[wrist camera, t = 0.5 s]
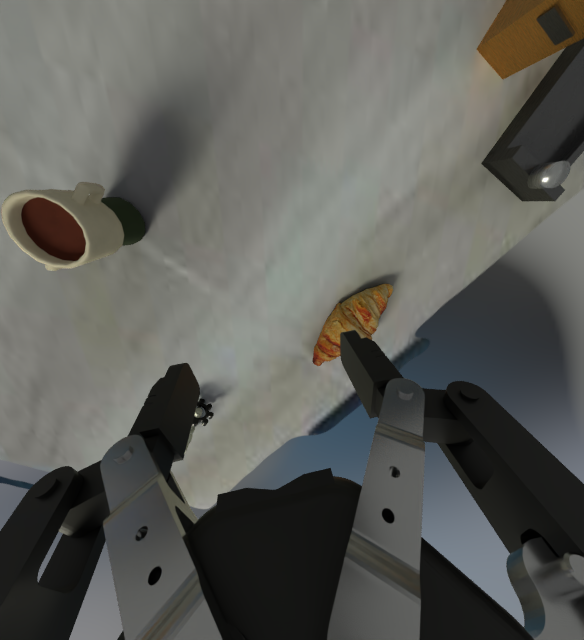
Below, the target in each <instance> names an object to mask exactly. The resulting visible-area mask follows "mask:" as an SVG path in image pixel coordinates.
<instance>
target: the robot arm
mask: <svg viewBox="0 0 584 640" xmlns="http://www.w3.org/2000/svg"><path fill="white" fill-rule="evenodd" d="M340 355H341V361H342V364H343V366H344V368H345V370H346V372H347V374H348V376H349V378H350V380H351V382H352V384H353V386H354V388H355V390H356V392H357V394H358V396H359V398H360V400H361V402H362V404H363V406H364V407H365V409H366V411H367V413H368V415H369V417H370V418H374V417H378V418H379V420H378V424H377V426H376V429H375V433H374V437H373V442H372V446H371V450H370V455H369V459H368V463H367V467H366V472H365V476H364V480H363V485H362V486H361V485H359V484H357V483H355V482H353V481H351V480H348V479H346V478H342V477H335V476H333V475H332V471H331V468H328V469H324V470H320V471H315V472H311V473H307V474H303V475H302V476H300V477H298V478H296V479H295V480H293V481H291V482H290V483H287V484H286V485H284V486H282V487H281V488H279V489H276V490H267V489H253V488H244V489H240V490H236V491H231V492H227V493H223V494H219V495H218V498H217V505H216V506H214V507H213V508H211V509H210V510H209V511H207V512H206V513H205V514H204V515H203V516H202V517H201V518H200V519H199V520H198V519H197V517H196V516H195V514H194V513H193V511H192V510H191V508H190V506H189V505H188V503H187V501H186V499H185V497H184V495H183V493H182V491H181V489H180V487H179V485H178V483H177V481H176V479H175V477H174V475H173V473H172V472H171V466H172V463H173V462H175V461H180V460H183V458H184V454H185V450H186V446H187V442H188V439H189V435H190V431H191V427H192V423H193V419H194V415H195V411H196V407H197V403H198V399H199V395H200V388H199V384H198V382H197V380H196V378H195V376H194V374H193V372H192V370H191V368H190V366H189V364H188V363H182V364H177V365H172V366H170V367H169V368H168V371H167V373H166V375H165V377H164V378H160V379H159V380H158V381H157V383H156V384H155V385H154V386H153V387H152V389H151V391H150V393H149V395H148V398H147V399H146V401H145V403H144V406H143V407H142V409H141V411H140V413H139V415H138V417H137V419H136V421H135V423H134V425H133V427H132V429H131V431H130V433H129V435H128V436H127V437H125V438H123V439H121V440H119V441H118V442H117V443H115V444H114V445H113V446H112V447H111V448H110V449H109V450H108V451H107V452H106V454H105V455H104V457H103V459H102V460H101V461H99V462H97V463H95V464H92V465H90V466H88V467H86V468H84V469H82V470H80V471H78V472H77V471H76V470H74V469H73V468H72V467H69V466H65V467H60V468H58V469H55V470H53V471H52V472H50V473H48V474H47V475H45V476H44V477H43V478H41V479H40V480H39V481H38V482H37V483H35V484H34V485H33V486H32V487H31V489H30V490H29V491H28V492H27V493H26V495H25V496H24V498H23V499H22V501H21V502H20V503H19V505H18V506H17V508H16V509H15V511H14V512H13V514H12V515H11V516H10V518H9V519H8V521H7V522H6V524H5V525H4V527H3V528H2V529H1V531H0V640H69V637H70V635H71V632H72V630H73V627H74V624H75V621H76V619H77V616H78V613H79V611H80V608H81V605H82V602H83V600H84V597H85V595H86V592H87V589H88V587H89V584H90V581H91V579H92V576H93V573H94V570H95V568H96V565H97V562H98V560H99V557H100V554H101V552H102V549H103V546H104V543H105V541H106V544H107V549H108V554H109V559H110V564H111V570H112V575H113V580H114V585H115V590H116V595H117V600H118V606H119V610H120V616H121V621H122V626H123V632H122V633H121V635H120V636H119V638H118V639H117V640H584V484H583V483H582V482H581V481H580V480H579V479H578V478H577V477H576V476H575V475H574V474H572V473H571V472H570V471H569V470H568V469H567V468H566V467H565V466H564V465H563V464H562V463H561V462H560V461H559V460H558V459H557V458H556V457H555V456H553V455H552V454H551V453H550V452H549V451H548V450H547V449H546V448H545V447H544V446H543V445H542V444H541V443H540V442H539V441H538V440H537V439H535V438H534V437H533V436H532V435H531V434H530V433H529V432H528V431H527V430H526V429H525V428H524V427H523V426H522V425H521V424H520V423H518V421H517V420H515V419H514V418H513V417H512V416H511V415H510V414H509V413H508V412H507V411H506V410H505V409H504V408H503V407H502V406H501V405H499V404H498V402H496V401H495V400H494V399H493V398H492V397H491V396H490V395H489V394H488V393H487V392H486V391H485V390H483V389H482V388H480V387H479V386H477V385H474V384H472V383H469V382H464V381H455V382H452V383H450V384H449V385H448V386H447V389H446V390H435V389H424V388H421V387H420V386H419V385H418V384H417V383H415V382H414V381H411V380H409V379H405V378H403V377H402V375H401V374H400V373H399V372H398V370H397V369H396V368H395V366H394V365H393V364H392V363H391V361H390V360H389V359H388V358H387V356H385V354H384V353H383V351H381V349H380V348H379V346H378V345H377V344H376V343H375V342H374V341H372V340H371V339H369V338H367V337H365V338H361V337H360V335H359V334H358V333H357V331H356V330H351V331H346V332H341V334H340ZM423 441H425V442H434V443H438V445H439V446H440V448H441V449H442V451H443V452H444V454H445V455H446V457H447V458H448V460H449V462H450V463H451V464H452V466H453V468H454V469H455V471H456V472H457V474H458V475H459V477H460V478H461V480H462V481H463V483H464V484H465V486H466V487H467V489H468V490H469V492H470V493H471V495H472V497H473V498H474V500H475V501H476V503H477V504H478V506H479V507H480V509H481V510H482V512H483V513H484V515H485V516H486V518H487V519H488V521H489V523H490V524H491V525H492V527H493V528H494V530H495V532H496V533H497V535H498V536H499V538H500V539H501V541H502V542H503V544H504V545H505V547H506V548H507V550H508V551H509V553H510V555H509V556H508V558H507V563H506V564H507V565H506V567H507V573H508V577H509V579H510V582H511V584H512V586H513V588H514V590H515V592H516V594H517V596H518V598H519V601H520V603H521V606H522V610H523V613H524V627H523V626H522V625H521V624H520V623H519V622H518V621H517V620H516V619H514V617H513V616H512V615H510V614H509V613H508V612H507V611H506V610H505V609H504V608H503V607H501V606H500V605H499V604H498V603H497V602H496V601H495V600H493V599H492V598H491V597H490V596H489V595H488V594H486V593H485V592H484V591H483V590H482V589H481V588H480V587H478V586H477V585H476V584H475V583H474V582H473V581H472V580H470V579H469V578H468V577H467V576H466V575H465V574H463V573H462V572H461V571H460V570H459V569H458V568H456V567H455V566H454V565H453V564H452V563H451V562H450V561H448V560H447V559H446V558H445V557H444V556H443V555H442V554H440V553H439V552H438V551H437V550H436V549H435V548H434V547H432V546H431V545H430V544H429V543H428V542H427V541H425V540H424V539H423V538H422V537H421V529H422V526H421V525H422V506H423V484H424V461H425V443H424V442H423ZM58 531H59V532H61V533H63V535H62V537H61V539H60V541H59V543H58V545H57V547H56V549H55V551H54V553H53V555H52V557H51V559H50V561H49V563H48V565H47V567H46V569H45V571H44V573H43V574H42V576H41V578H40V581H39V582H38V581H37V576H38V572H39V568H40V566H41V564H42V562H43V560H44V558H45V556H46V554H47V552H48V551H49V549H50V547H51V545H52V543H53V541H54V539H55V537H56V535H57V533H58Z"/></svg>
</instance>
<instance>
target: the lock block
mask: <svg viewBox="0 0 584 640" xmlns="http://www.w3.org/2000/svg"><path fill="white" fill-rule="evenodd" d="M583 38H584V0H506V2H505V4H504V5H503V7H502V9H501V10H500V12H499V13H498V15H497V17H496V18H495V20H494V22H493V23H492V25H491V27H490V28H489V30H488V31H487V33H486V35H485V36H484V38H483V40H482V41H481V43H480V45H479V46H478V48H477V50H478V51H479V53H480V54H481V55H482V56H483V57H484V58H485V60H486V61H487V62H488V63H489V64H490V65H491V67H492V68H493V69H494V70H495V71H496V72H497V74H498V75H499V76H500V77H501V78H502V79H505V78H507V77H509V76H510V75H512V74H514V73H516V72H518V71H520V70H522V69H524V68H526V67H528V66H530V65H532V64H534V63H536V62H538V61H540V60H542V59H544V58H546V57H548V56H550V55H552V54H554V53H556V52H557V51H559V50H561V49H563V48H565V47H567V46H569V45H571V44H573V43H575V42H577V41H579V40H581V39H583Z"/></svg>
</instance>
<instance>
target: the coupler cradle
mask: <svg viewBox="0 0 584 640" xmlns="http://www.w3.org/2000/svg"><path fill="white" fill-rule="evenodd" d="M583 151H584V38H583V39H581V40H579V41H577V42H575V43H574V44H572V45H570V46H568V47H566V48H565V50H564V51H563V52H562V54H561V55H560V56H559V58H558V59H557V61H556V62H555V63H554V65H553V66H552V67H551V69H550V70H549V72H548V73H547V74H546V76H545V77H544V78H543V80H542V81H541V82H540V84H539V85H538V87H537V88H536V89H535V91H534V92H533V93H532V95H531V96H530V98H529V99H528V100H527V102H526V103H525V104H524V106H523V107H522V109H521V110H520V111H519V113H518V114H517V115H516V117H515V118H514V119H513V121H512V122H511V124H510V125H509V126H508V128H507V129H506V130H505V132H504V133H503V135H502V136H501V137H500V139H499V140H498V141H497V143H496V144H495V146H494V147H493V148H492V150H491V151H490V152H489V154H488V155H487V156H486V158H485V159H484V161H483V162H482V163H481V164H482V165H484V166H485V167H486V168H487V169H488V170H489V171H490V172H491V173H492V174H493V175H494V176H495V177H497V178H498V179H499V180H500V181H501V182H502V183H503V184H504V185H505V186H506V187H507V188H508V189H510V190H511V191H512V192H513V193H514V194H515V195H516V196H517V197H518V198H519V199H520V200H522V201H556V200H557V198H558V197H559V196H560V195H561V194H562V193H563V192H564V191H565V190H564V189H563V188H562V187H561V185H560V184H561V183H563V182H564V180H565V179H566V178H567V176H568V174H569V172H570V166H571V165H572V164H573V163H574V161H575V160H576V159H577V158H578V157H579V156H580V155H581V153H582V152H583Z"/></svg>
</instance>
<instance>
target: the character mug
mask: <svg viewBox="0 0 584 640" xmlns="http://www.w3.org/2000/svg"><path fill="white" fill-rule="evenodd" d="M104 191H105V189H104V188H103V186H101V185H99V184H96V183H87V182H80V183H78V184H77V186H76V188H75V190H74V191H71V190H68V191H67V190H54V189H50V190H24V191H20V192H16V193H13V194H11V195H9V196H8V197H7V198H6V199H5V200H4V202H3V204H2V209H1V215H2V221H3V224H4V226H5V228H6V230H7V232H8V234H9V236H10V237H11V238H12V239H13V241H14V242H15V243H16V244H17V245H18V246H19V247H20V248H21V250H23V251H24V252H25V253H27V254H28V255H30V256H31V257H32V258H34V259H35V260H37V261H38V262H41V263H44V264H45V267H46V268H47V270H52V271H56V270H59V269H62V268H74V267H77V266H80V265H83V264H86V263H89V262H92V261H94V260H97V259H100V258H103V257H106V256H109V255H112V254H114V253H115V252H116V251H117V250H118V249H119V248H120V247H121V246H122V245H131V244H134V243H136V242H138V241H140V240H141V239H142V237H143V236H144V234H145V222H144V220H143V219H142V217H141V215H140V213H139V211H138V210H137V209H136V208H135V207H134V206H133V205H132V204H131V203H129V202H127V201H125V200H123V199H121V198H117V197H107V198H102V197H103V195H104ZM88 194H90V195H88Z"/></svg>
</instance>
